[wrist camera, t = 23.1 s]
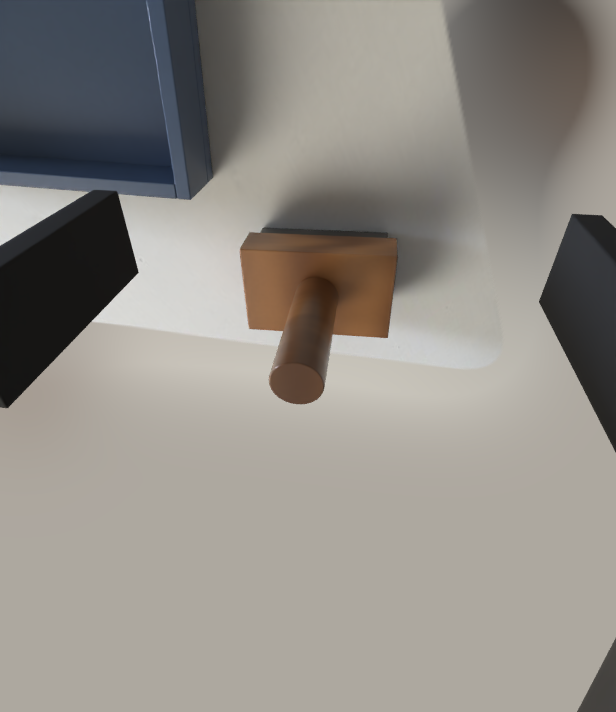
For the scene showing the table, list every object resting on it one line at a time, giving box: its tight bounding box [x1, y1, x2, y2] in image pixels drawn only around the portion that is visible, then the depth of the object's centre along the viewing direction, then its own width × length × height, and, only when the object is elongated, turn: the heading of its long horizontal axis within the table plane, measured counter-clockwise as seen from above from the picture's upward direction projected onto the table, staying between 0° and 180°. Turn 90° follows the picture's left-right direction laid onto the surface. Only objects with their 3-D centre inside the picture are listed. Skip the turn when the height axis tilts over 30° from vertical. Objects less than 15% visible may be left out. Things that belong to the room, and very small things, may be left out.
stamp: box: [240, 228, 398, 404], centre depth 25 cm, size 9×6×12 cm, turn 91°
